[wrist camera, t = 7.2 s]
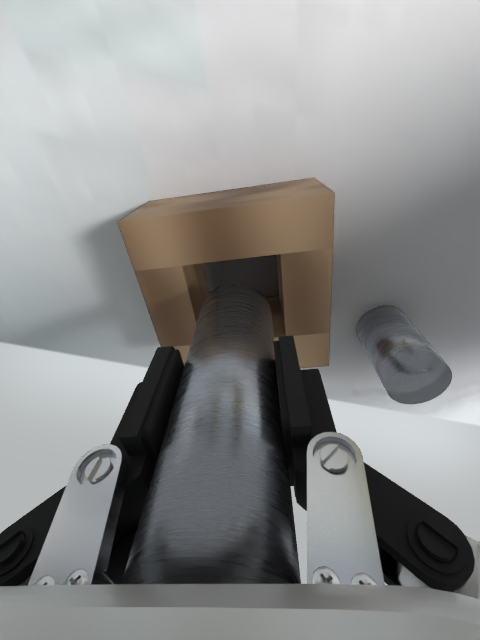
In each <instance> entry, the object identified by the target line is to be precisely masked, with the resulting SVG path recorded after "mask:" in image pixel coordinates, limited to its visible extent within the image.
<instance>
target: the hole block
mask: <svg viewBox="0 0 480 640" xmlns="http://www.w3.org/2000/svg"><path fill="white" fill-rule="evenodd" d="M334 197H335V192H333V191H332V190H331V189H329V188H328V187H326V186H325V185H324V184H322V183H321V182H319V181H318V180H317V179H315V178H309V179H302V180H295V181H288V182H281V183H274V184H267V185H260V186H253V187H246V188H239V189H232V190H225V191H218V192H210V193H203V194H196V195H189V196H182V197H175V198H168V199H161V200H154V201H148V202H147V203H145V204H144V205H142V206H141V207H139V208H138V209H136V210H135V211H133V212H132V213H130V214H129V215H127V216H126V217H124V218H123V219H121V220H120V221H118V222H117V223H118V225H119V228H120V231H121V234H122V237H123V240H124V243H125V245H126V248H127V251H128V254H129V257H130V260H131V263H132V265H133V268H134V271H135V274H136V277H137V280H138V283H139V285H140V288H141V291H142V294H143V297H144V300H145V303H146V305H147V308H148V311H149V314H150V317H151V320H152V323H153V325H154V328H155V331H156V334H157V337H158V340H159V343H160V345H161V347H168V346H173V347H174V348H175V350H176V349H178V350H179V351H180V354H181V357H182V360H183V364H184V365H185V362H186V358H187V355H188V351H189V348H190V345H191V341H192V338H193V334H194V331H195V327H196V324H197V320H198V317H199V313H200V310H201V307H202V304H203V302H204V300H205V298H206V297H207V296H208V295H209V289H208V285H207V280H206V275H205V271H204V266H203V263H209V262H217V261H226V260H234V259H243V258H252V257H260V256H269V255H276V259H277V272H278V286H279V296H277V297H267V298H266V300H267V301H268V303H269V305H270V308H271V313H272V323H273V332H274V341H278V340H279V337H280V336H291V335H293V337H294V342H295V347H296V351H297V356H298V361H299V366H300V368H308V367H321V366H329V346H330V316H331V287H332V257H333V227H334Z"/></svg>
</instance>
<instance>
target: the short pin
mask: <svg viewBox="0 0 480 640" xmlns="http://www.w3.org/2000/svg"><path fill="white" fill-rule="evenodd" d="M357 335H358V337H359V339H360V341H361V343H362V345H363V347H364V349H365V350H366V352H367V354H368V356H369V358H370V360H371V362H372V364H373V366H374V368H375V370H376V372H377V374H378V375H379V377H380V379H381V381H382V383H383V385H384V387H385V389H386V391H387V393H388V395H389V396H390V397H391V398H392V399H393V400H395V401H397V402H399V403H404V404H418V403H423V402H426V401H429V400H431V399H433V398H435V397H437V396H439V395H440V394H441V393H443V392H444V391H445V390H446V389H447V387H448V386H449V384H450V382H451V380H452V372H451V369H450V368H449V367H448V365H447V364H446V363H445V362H444V361H443V359H442V358H441V357H440V356H439V355H438V353H437V352H436V351H435V350H434V349H433V348H432V346H431V345H430V344H429V343H428V342H427V340H426V339H425V338H424V337H423V336H422V334H421V333H420V332H419V331H418V330H417V328H416V327H415V326H414V325H413V324H412V322H411V321H410V320H409V319H408V318H407V317H406V315H405V314H404V313H403V312H402V311H401V310H400V309H398V308H396V307H393V306H381V307H377V308H374V309H372V310H370V311H368V312H367V313H366V314H365V315H363V317H362V318H361V319H360V320H359V322H358V325H357Z"/></svg>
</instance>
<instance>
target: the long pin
mask: <svg viewBox="0 0 480 640" xmlns="http://www.w3.org/2000/svg"><path fill="white" fill-rule="evenodd" d="M273 341H274V332H273V323H272V313H271V308H270V305H269V303H268V301H267V300H266V298H265V297H264V296H263V295H262V294H261V293H260V292H258V291H257V290H255V289H253V288H251V287H249V286H245V285H240V284H230V285H225V286H222V287H219V288H217V289H215V290H214V291H212V292H211V293H210V294H209V295H208V296H207V297H206V298H205V300H204V302H203V304H202V307H201V310H200V313H199V317H198V320H197V324H196V327H195V331H194V334H193V338H192V341H191V345H190V348H189V351H188V355H187V358H186V362H185V365H184V369H183V372H182V376H181V379H180V383H179V386H178V389H177V393H176V396H175V400H174V403H173V407H172V410H171V414H170V417H169V420H168V424H167V427H166V431H165V434H164V438H163V441H162V445H161V448H160V452H159V455H158V458H157V462H156V465H155V469H154V472H153V476H152V479H151V483H150V486H149V490H148V493H147V496H146V500H145V503H144V507H143V510H142V514H141V517H140V521H139V524H138V528H137V531H136V534H135V538H134V541H133V545H132V548H131V552H130V555H129V559H128V562H127V565H126V569H125V572H124V576H123V579H122V583H121V584H301V580H300V571H299V561H298V553H297V544H296V534H295V525H294V515H293V507H292V497H291V488H290V479H289V470H288V461H287V457H286V454H285V452H284V444H283V434H282V424H281V414H280V404H279V394H278V384H277V374H276V364H275V354H274V343H273Z"/></svg>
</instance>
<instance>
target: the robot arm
mask: <svg viewBox="0 0 480 640" xmlns="http://www.w3.org/2000/svg"><path fill="white" fill-rule="evenodd" d="M273 343H274V354H275V364H276V374H277V384H278V394H279V404H280V414H281V424H282V434H283V444H284V452H285V454H286V457H287V461H288V470H289V479H290V486H294V491H295V497H296V500H297V503H298V504H299V505H300V506H301V507H303V509H305V510H306V511H307V584H121V583H122V579H123V576H124V572H125V569H126V565H127V562H128V559H129V555H130V552H131V548H132V545H133V541H134V538H135V534H136V531H137V528H138V524H139V521H140V517H141V514H142V510H143V507H144V503H145V500H146V496H147V493H148V490H149V486H150V483H151V479H152V476H153V472H154V469H155V465H156V462H157V458H158V455H159V452H160V448H161V445H162V441H163V438H164V434H165V431H166V427H167V424H168V420H169V417H170V414H171V410H172V407H173V403H174V400H175V396H176V393H177V389H178V386H179V383H180V379H181V376H182V372H183V369H184V364H183V360H182V357H181V354H180V351H179V350H178V349H176V350H175V348H174V347H173V346H168V347H159V348H157V350H156V352H155V355H154V357H153V359H152V361H151V364H150V366H149V368H148V371H147V373H146V375H145V377H144V380H143V382H141V383H139V384H138V385H137V387H136V388H135V391H134V393H133V395H132V397H131V399H130V402H129V404H128V406H127V408H126V410H125V413H124V415H123V417H122V419H121V421H120V424H119V426H118V428H117V430H116V432H115V434H114V437H113V439H112V441H111V443H110V444H106V445H101V446H97V447H95V448H94V449H92V450H90V451H88V452H87V453H86V454H85V455H83V456H82V457H81V458H80V460H79V461H78V462H77V463H76V465H75V466H74V468H73V470H72V473H71V475H70V478H69V480H68V483H67V485H66V486H65V487H64V488H62V489H61V490H59V491H58V492H57V493H55V494H54V495H52V496H51V497H50V498H48V499H47V500H46V501H44V502H43V503H41V504H40V505H39V506H37V507H36V508H34V509H33V510H32V511H30V512H29V513H27V514H26V515H25V516H23V517H22V518H20V519H19V520H18V521H16V522H15V523H14V524H12V525H11V526H9V527H8V528H7V529H5V530H4V531H3V532H2V533H1V534H0V640H480V542H478V541H476V540H474V539H472V538H470V537H468V536H465V535H464V534H463V532H462V531H461V530H460V529H459V528H458V527H457V525H455V524H454V523H453V522H452V521H450V520H449V519H448V518H447V517H445V516H444V515H442V514H441V513H439V512H438V511H436V510H435V509H433V508H432V507H430V506H429V505H427V504H426V503H424V502H423V501H421V500H420V499H418V498H417V497H415V496H414V495H412V494H411V493H409V492H408V491H406V490H405V489H403V488H402V487H400V486H398V485H397V484H396V483H394V482H393V481H391V480H390V479H388V478H387V477H385V476H384V475H382V474H381V473H379V472H378V471H376V470H375V469H373V468H371V467H370V466H369V465H367V464H366V463H364V462H363V456H362V454H361V451H360V449H359V447H358V446H357V445H356V443H355V442H354V441H352V440H351V439H350V438H349V437H347V436H345V435H343V434H341V433H337V432H336V429H335V425H334V421H333V418H332V414H331V411H330V407H329V404H328V400H327V397H326V393H325V390H324V386H323V382H322V379H321V375H320V372H319V370H318V369H309V370H300V366H299V361H298V356H297V351H296V347H295V342H294V337H293V335H291V336H280V337H279V340H278V341H273ZM384 582H385V583H386V584H388V585H384Z"/></svg>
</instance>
